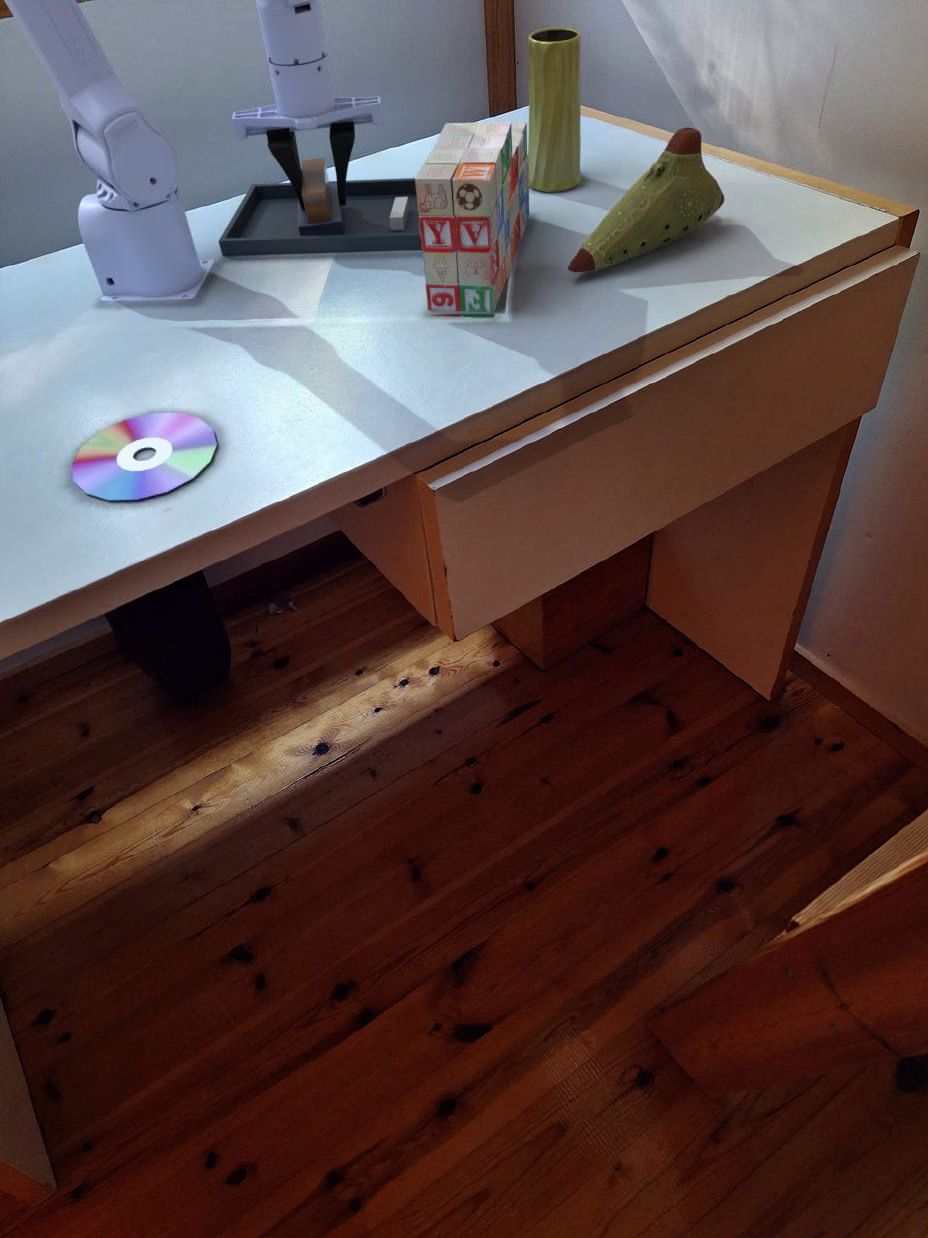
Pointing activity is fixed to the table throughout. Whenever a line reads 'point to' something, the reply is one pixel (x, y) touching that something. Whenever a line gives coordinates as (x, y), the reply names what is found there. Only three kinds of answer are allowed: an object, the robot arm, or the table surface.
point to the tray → (366, 216)
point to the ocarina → (655, 207)
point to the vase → (554, 109)
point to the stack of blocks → (472, 213)
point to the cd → (121, 477)
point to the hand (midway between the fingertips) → (323, 203)
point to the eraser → (319, 202)
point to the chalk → (399, 213)
